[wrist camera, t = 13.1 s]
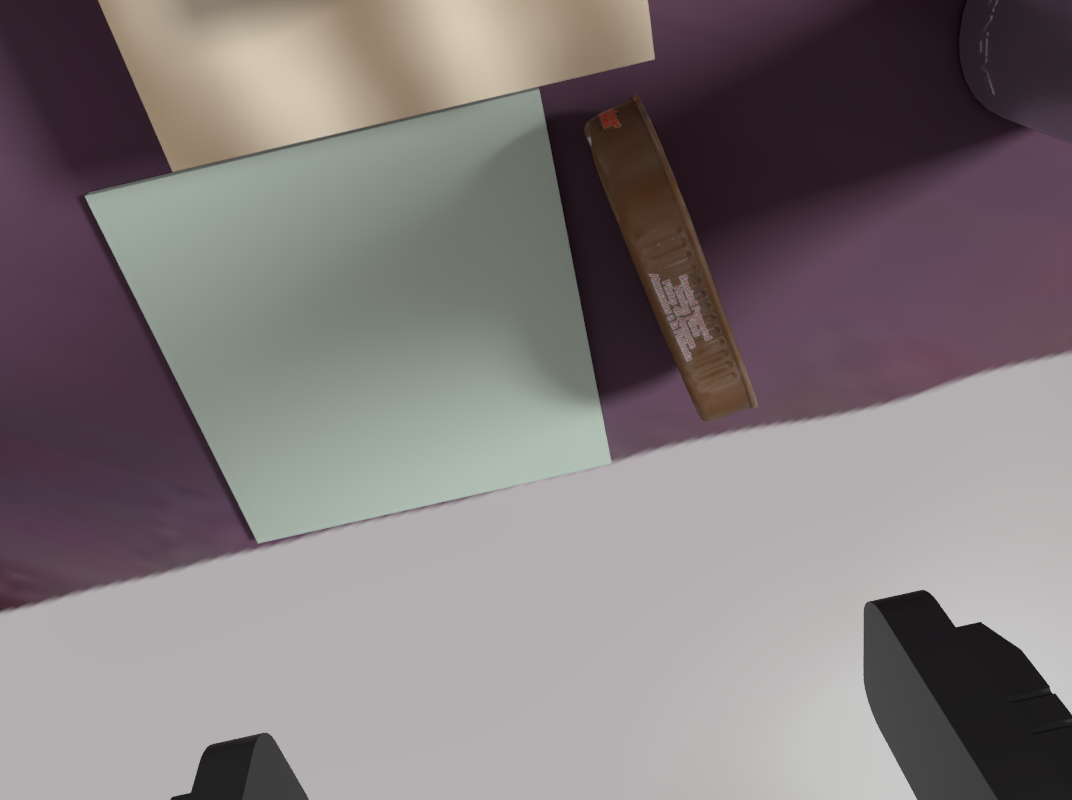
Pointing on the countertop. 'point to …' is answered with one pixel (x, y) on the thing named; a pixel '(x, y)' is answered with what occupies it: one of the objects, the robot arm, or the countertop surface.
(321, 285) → the mat
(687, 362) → the tin
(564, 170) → the countertop surface
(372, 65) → the cover board
